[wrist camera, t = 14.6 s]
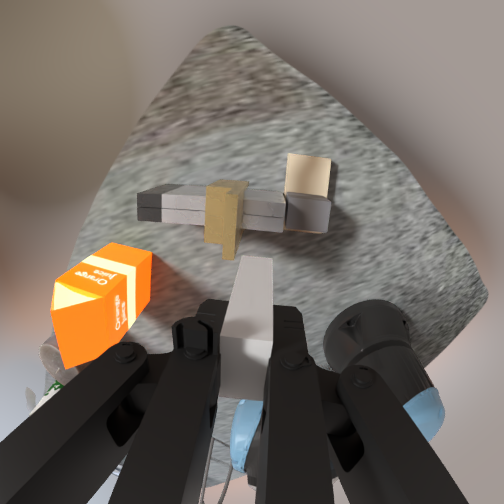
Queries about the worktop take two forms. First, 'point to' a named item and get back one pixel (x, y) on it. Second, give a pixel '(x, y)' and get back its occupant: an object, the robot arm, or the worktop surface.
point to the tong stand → (307, 194)
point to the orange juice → (99, 301)
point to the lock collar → (225, 215)
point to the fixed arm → (199, 218)
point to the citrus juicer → (207, 475)
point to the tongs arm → (196, 199)
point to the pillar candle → (58, 361)
